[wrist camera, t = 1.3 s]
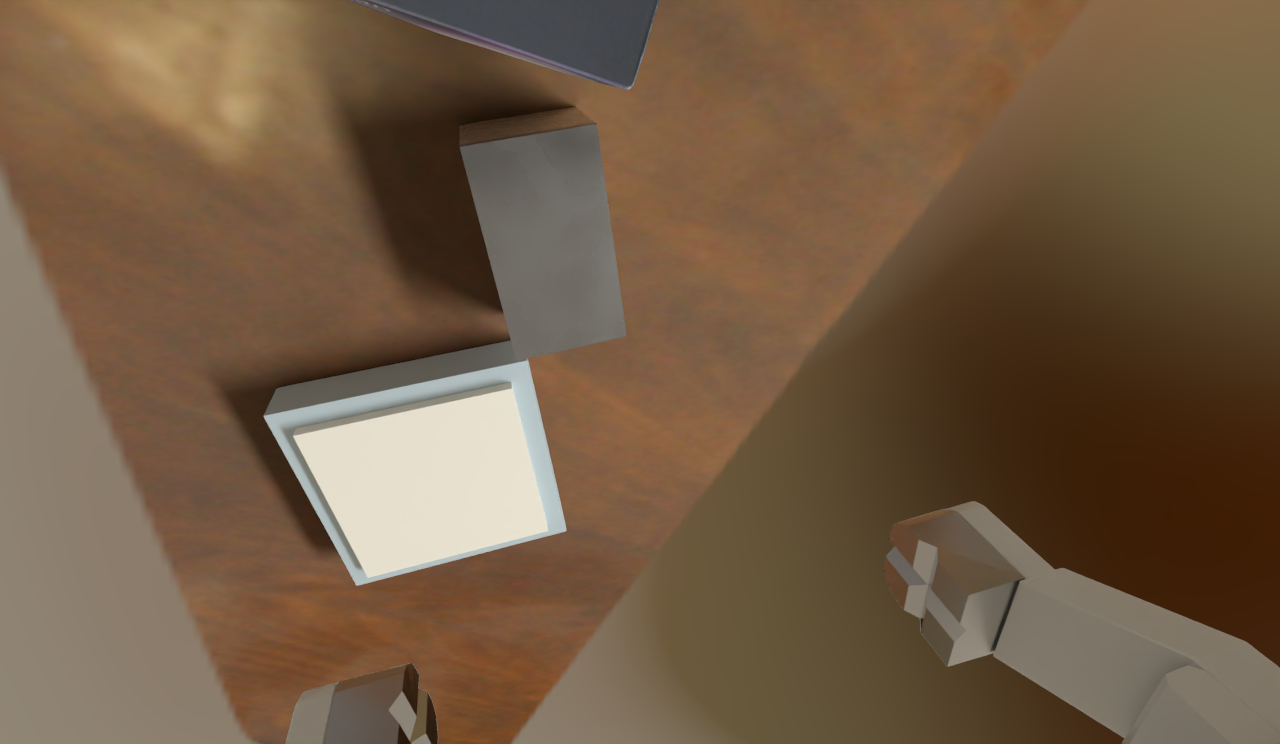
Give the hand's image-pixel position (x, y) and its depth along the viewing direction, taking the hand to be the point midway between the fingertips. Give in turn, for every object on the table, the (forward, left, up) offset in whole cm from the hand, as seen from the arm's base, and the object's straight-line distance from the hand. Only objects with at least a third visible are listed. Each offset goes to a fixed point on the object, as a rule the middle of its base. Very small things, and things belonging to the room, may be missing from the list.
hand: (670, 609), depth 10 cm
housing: (0, 0, -22) cm, 22 cm away
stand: (+12, -8, -22) cm, 26 cm away
